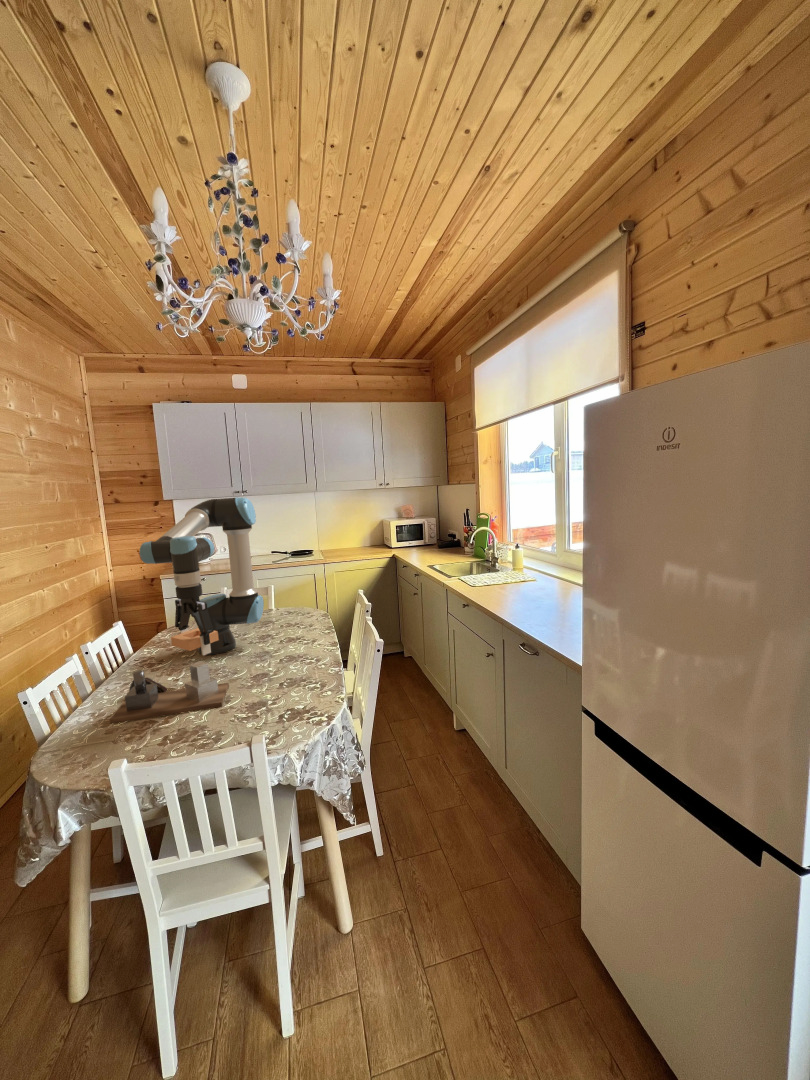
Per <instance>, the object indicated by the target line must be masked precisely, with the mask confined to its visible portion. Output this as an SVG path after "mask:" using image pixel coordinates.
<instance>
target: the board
mask: <svg viewBox="0 0 810 1080" xmlns="http://www.w3.org/2000/svg"><path fill="white" fill-rule="evenodd" d="M217 684H218V683H217ZM229 688H230V683H229V682H226V683H219V684H218V692H219V693H218V694H216V695H214V696H212V697H210V698H208V699H206V700H204V701H202V702H200V703H199V702H196V701H194V700H191V699H189V698H187V696H186V689H178V690H177V689H176V690H171V691H165V692H162V693H158V699H157V700H156V702H155V703H154V705H153V706H152V708H148V709H141V710H135V711H128V712H127V708H126V702H125V700H124V701H123V702H122V704H121V705H120V706H119V708H118V709H117V710H116V711H115V712H114V714H113V715H112V716H111V717H110V719H109V723H110V725H113V724H112V723H114V724H119V722H120V723H126V722H125V721H127V722H131V721H132V722H133V721H138V720H145V719H150V718H156V717H157V718H158V717H164V715H165V716H169V715H170V714H171V715H176V714H175V713H177V714H182V713H181V712H184V713H189V712H188V711H190V712H194V711H195V710H197V711H202V709H203V710H208V709H213V708H214V709H215V707H216V708H221V707H223V704H224V701H225V699H226V697H225V696H226V695H227V694H228V690H229ZM226 693H227V694H226ZM195 712H196V711H195Z"/></svg>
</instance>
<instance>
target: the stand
mask: <svg viewBox="0 0 810 1080" xmlns="http://www.w3.org/2000/svg"><path fill="white" fill-rule="evenodd" d="M132 677H133V680H134V684H135V686H134V687H132V689H131V690H130V691H128V692H127V693H126V695H125V696H124V701H125V702H126V708H127V712H128V711H135V710H141V709H148V708H152V706H153V705H154V703H155V702H156V700H157V699H158V691H157V684H156V683H155V684H148V685H146V683H145V678H146V677H145V671H144V670H142V669H141V670H137V671H136V670H135V671H134V672H133V673H132Z"/></svg>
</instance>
